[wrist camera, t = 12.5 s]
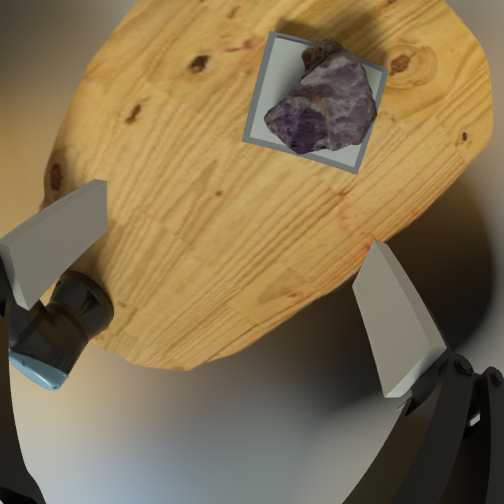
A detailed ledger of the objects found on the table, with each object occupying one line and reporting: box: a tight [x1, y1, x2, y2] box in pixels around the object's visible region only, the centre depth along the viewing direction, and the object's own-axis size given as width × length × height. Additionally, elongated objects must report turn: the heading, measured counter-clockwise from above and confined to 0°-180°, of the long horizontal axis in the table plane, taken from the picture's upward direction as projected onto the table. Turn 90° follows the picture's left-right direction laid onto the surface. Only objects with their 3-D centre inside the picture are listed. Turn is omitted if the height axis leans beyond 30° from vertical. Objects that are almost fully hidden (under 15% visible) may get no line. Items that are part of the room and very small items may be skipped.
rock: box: [264, 38, 377, 155], centre depth 22 cm, size 12×9×10 cm
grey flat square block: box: [242, 31, 389, 175], centre depth 27 cm, size 14×14×3 cm
